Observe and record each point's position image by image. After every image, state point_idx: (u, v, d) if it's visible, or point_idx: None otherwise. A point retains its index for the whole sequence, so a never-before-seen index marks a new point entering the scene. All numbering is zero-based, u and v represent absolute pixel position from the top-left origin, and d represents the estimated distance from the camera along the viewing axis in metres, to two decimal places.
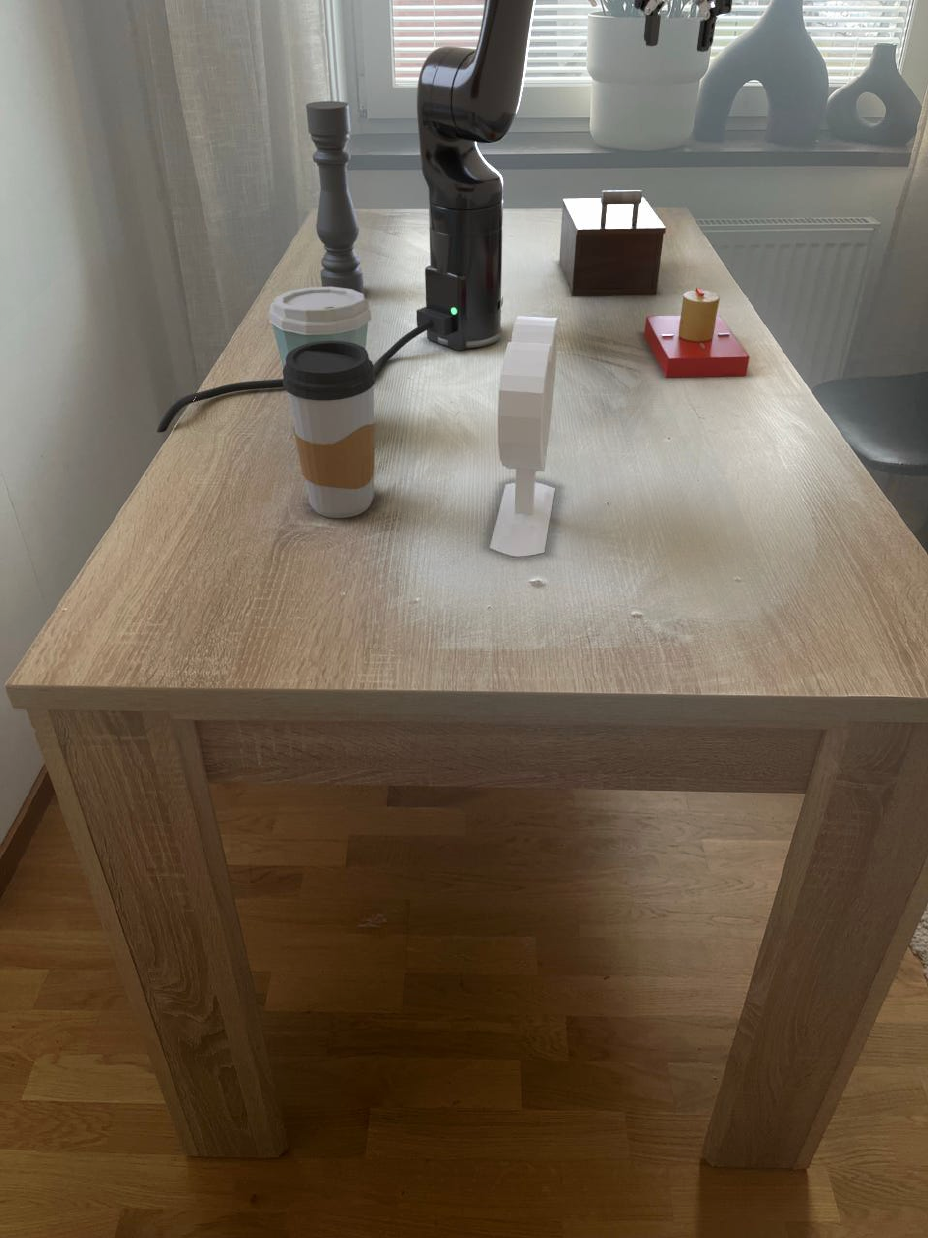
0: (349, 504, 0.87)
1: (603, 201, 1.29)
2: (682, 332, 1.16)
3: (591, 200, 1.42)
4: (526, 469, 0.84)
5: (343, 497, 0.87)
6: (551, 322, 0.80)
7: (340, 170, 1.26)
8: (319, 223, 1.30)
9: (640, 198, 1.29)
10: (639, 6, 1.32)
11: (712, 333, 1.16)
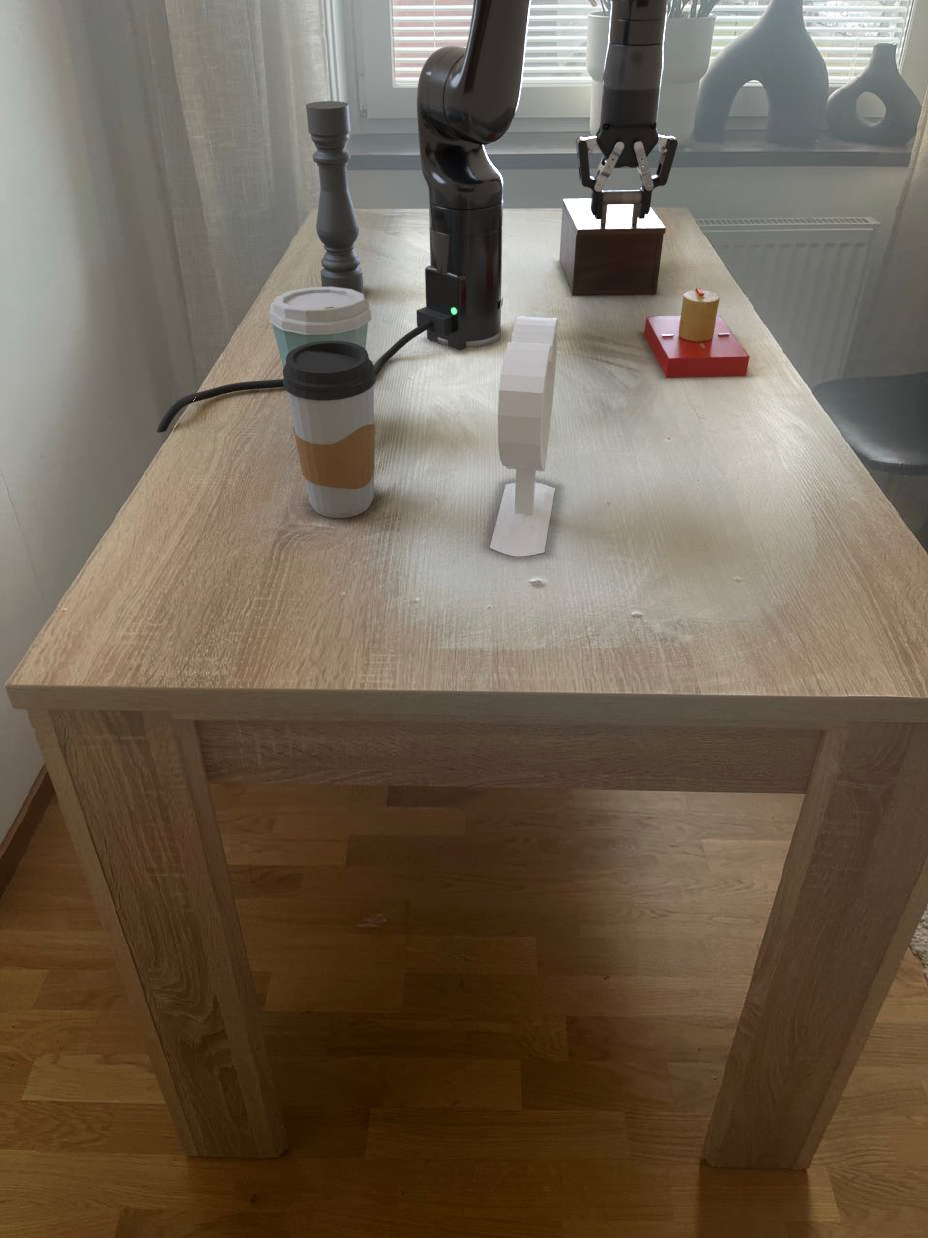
0: (349, 504, 0.87)
1: (603, 201, 1.29)
2: (682, 332, 1.16)
3: None
4: (526, 469, 0.84)
5: (343, 497, 0.87)
6: (551, 322, 0.80)
7: (340, 170, 1.26)
8: (319, 223, 1.30)
9: (640, 198, 1.29)
10: (588, 184, 1.28)
11: (712, 333, 1.16)
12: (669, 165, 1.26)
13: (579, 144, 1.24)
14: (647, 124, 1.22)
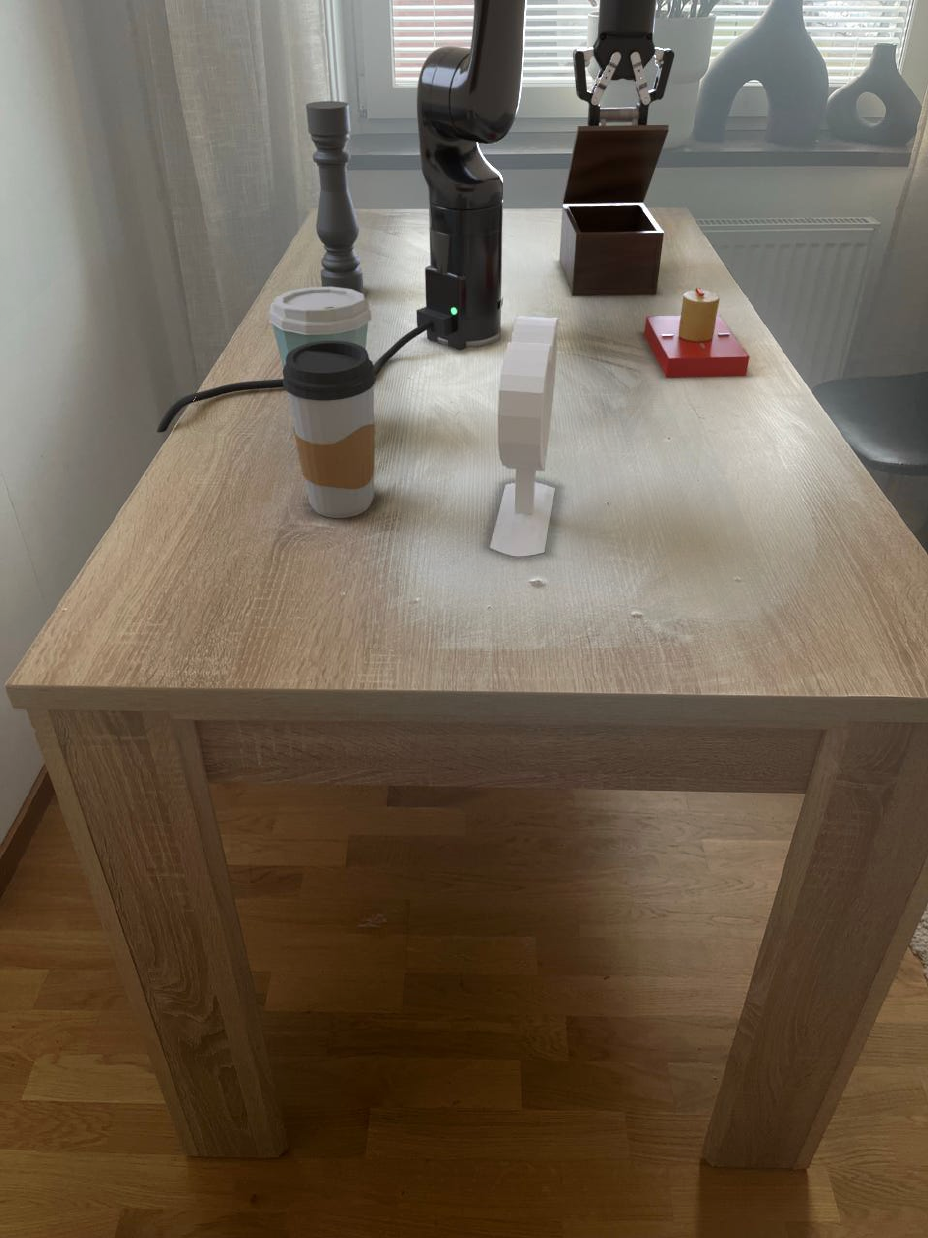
0: (349, 504, 0.87)
1: (601, 113, 1.29)
2: (682, 332, 1.16)
3: None
4: (526, 469, 0.84)
5: (343, 497, 0.87)
6: (551, 322, 0.80)
7: (340, 170, 1.26)
8: (319, 223, 1.30)
9: (637, 110, 1.29)
10: (585, 97, 1.28)
11: (712, 333, 1.16)
12: (666, 78, 1.27)
13: (576, 55, 1.25)
14: (644, 33, 1.22)
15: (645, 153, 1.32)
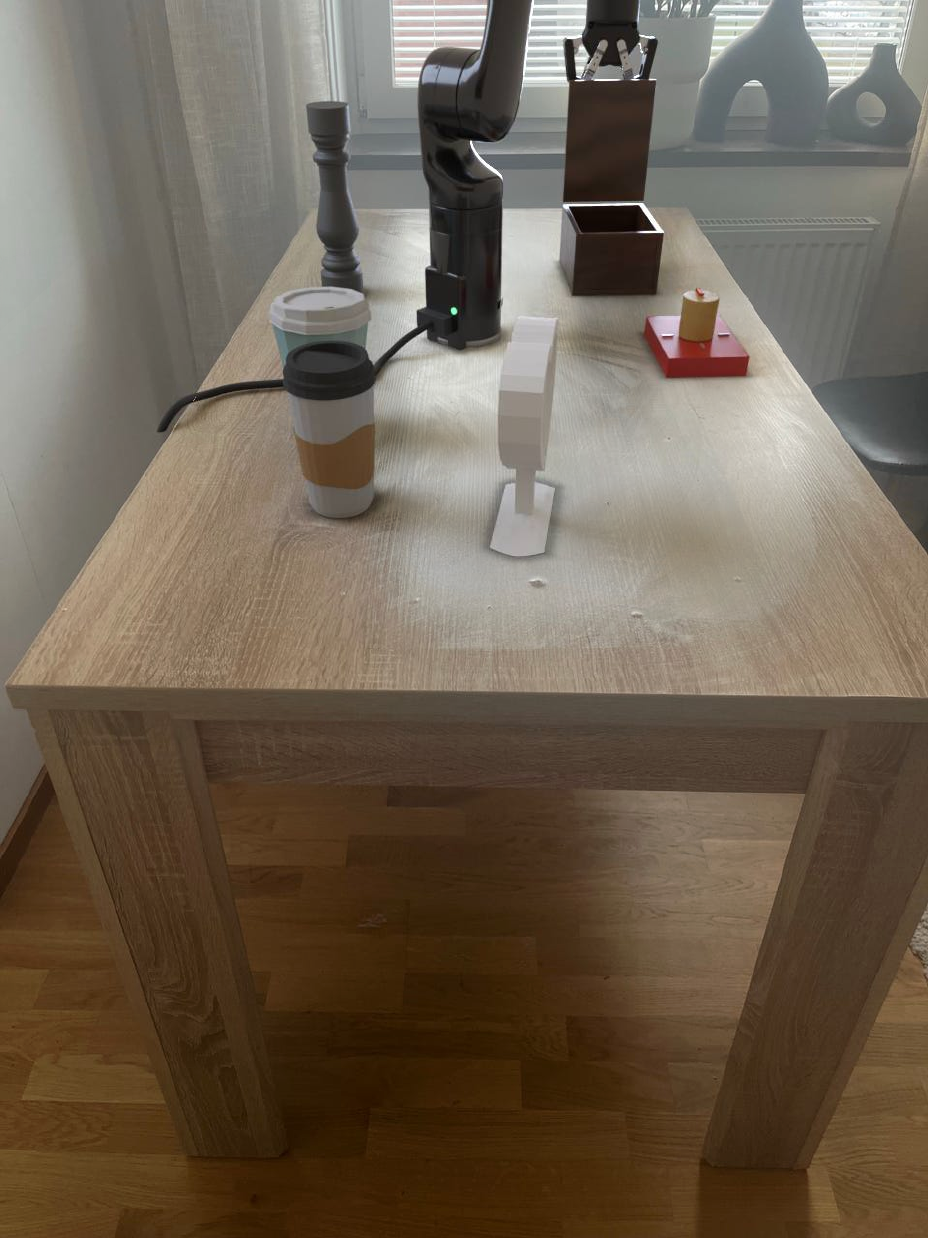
0: (349, 504, 0.87)
1: None
2: (682, 332, 1.16)
3: None
4: (526, 469, 0.84)
5: (343, 497, 0.87)
6: (551, 322, 0.80)
7: (340, 170, 1.26)
8: (319, 223, 1.30)
9: None
10: None
11: (712, 333, 1.16)
12: (650, 64, 1.35)
13: (566, 42, 1.33)
14: (629, 21, 1.30)
15: (638, 118, 1.36)
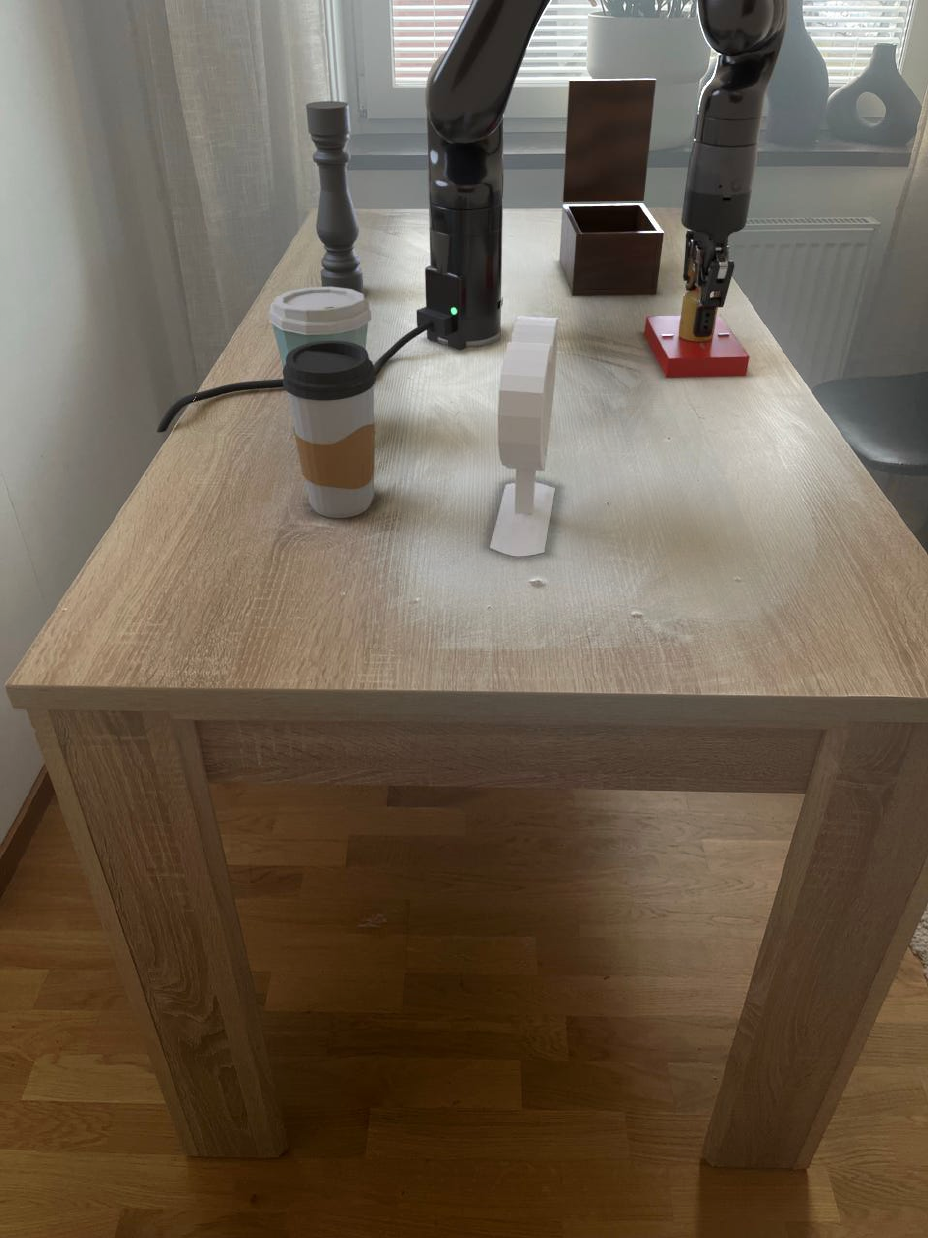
0: (349, 504, 0.87)
1: None
2: (682, 332, 1.16)
3: None
4: (526, 469, 0.84)
5: (343, 497, 0.87)
6: (551, 322, 0.80)
7: (340, 170, 1.26)
8: (319, 223, 1.30)
9: None
10: (684, 279, 1.18)
11: (712, 333, 1.16)
12: (707, 288, 1.08)
13: (686, 234, 1.16)
14: (691, 229, 1.08)
15: (637, 118, 1.36)
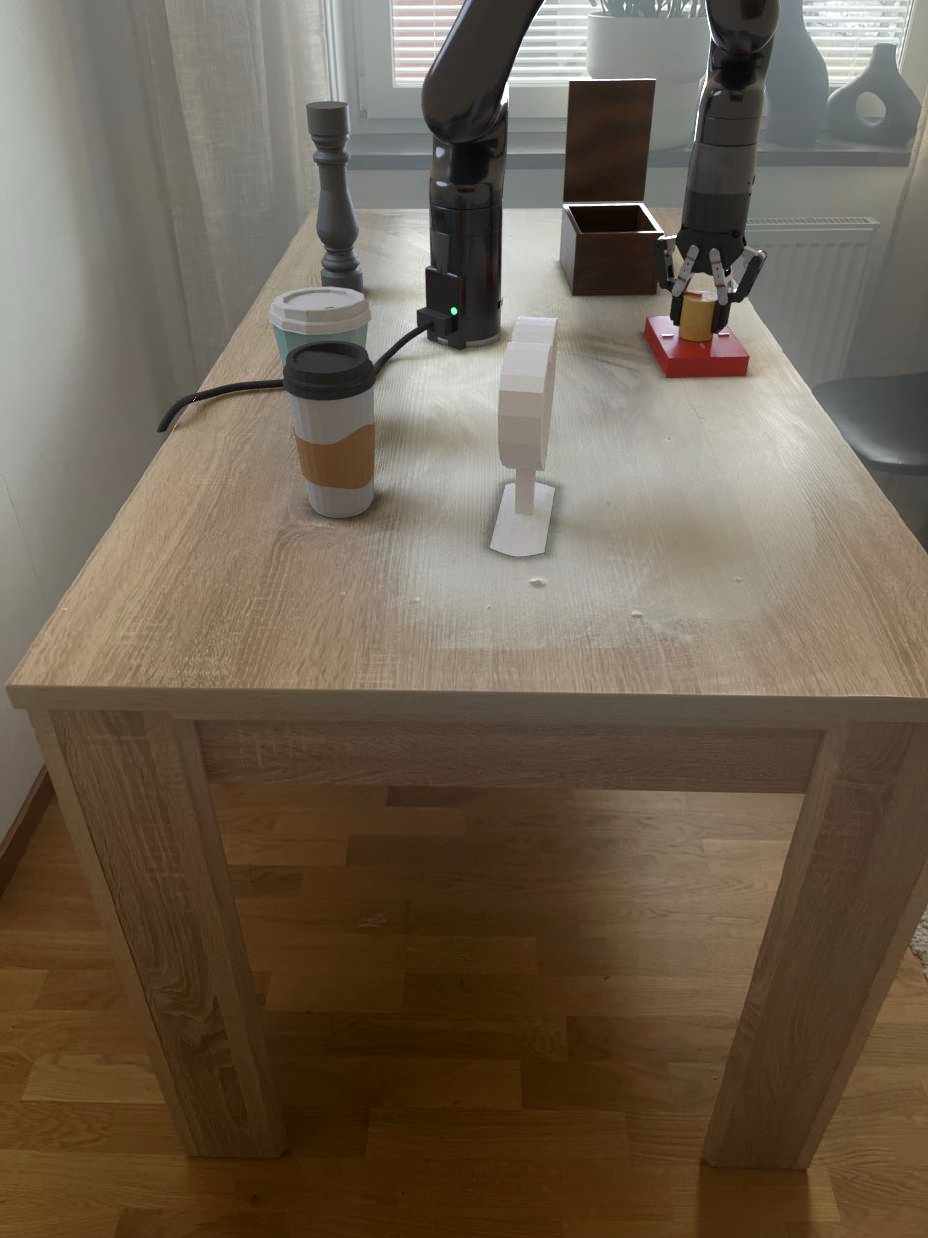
0: (349, 504, 0.87)
1: None
2: (698, 336, 1.15)
3: None
4: (526, 469, 0.84)
5: (343, 497, 0.87)
6: (551, 322, 0.80)
7: (340, 170, 1.26)
8: (319, 223, 1.30)
9: None
10: (665, 287, 1.15)
11: None
12: (748, 283, 1.10)
13: (654, 244, 1.13)
14: (720, 232, 1.06)
15: (637, 118, 1.36)
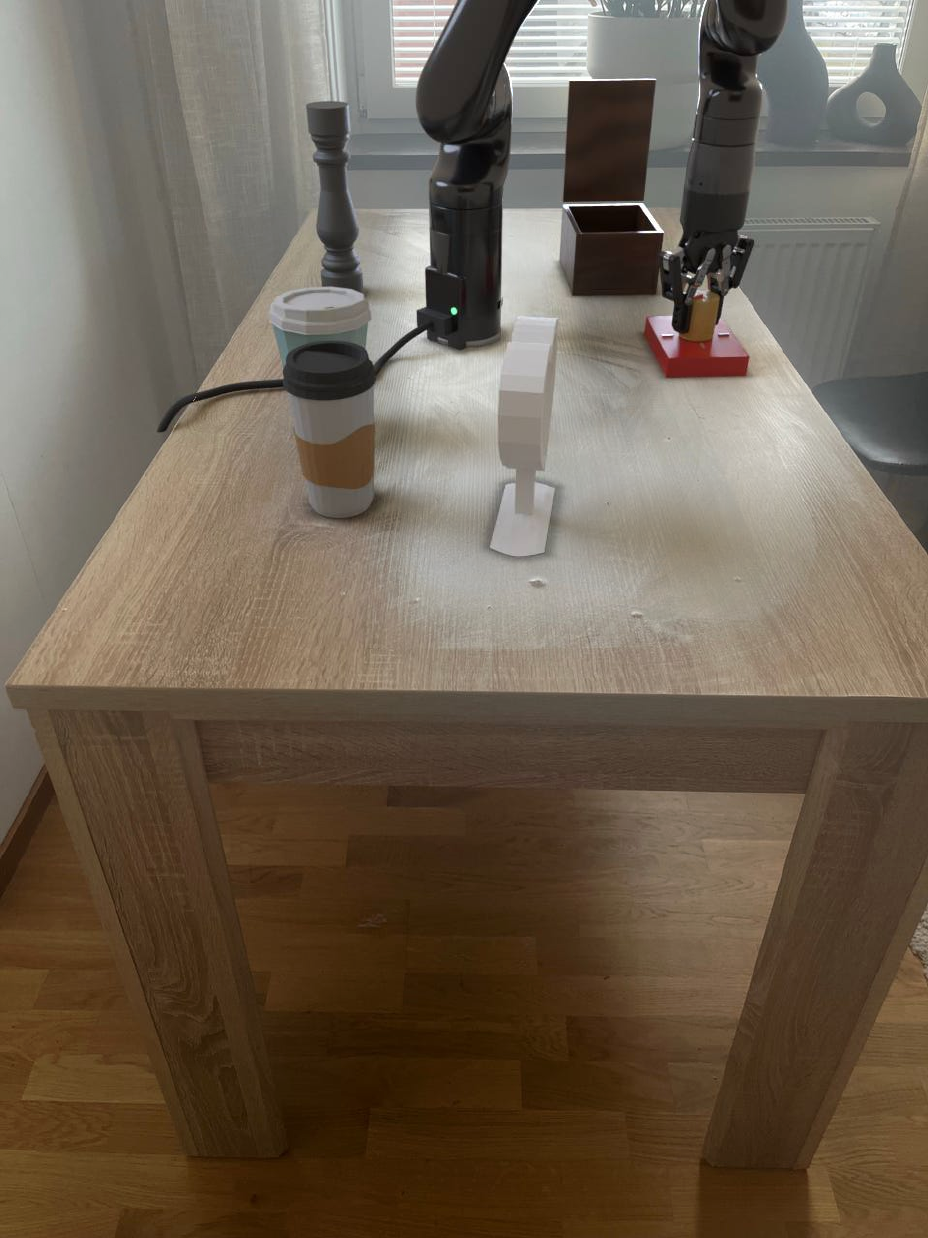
0: (349, 504, 0.87)
1: None
2: (713, 332, 1.16)
3: None
4: (526, 469, 0.84)
5: (343, 497, 0.87)
6: (551, 322, 0.80)
7: (340, 170, 1.26)
8: (319, 223, 1.30)
9: None
10: (680, 300, 1.12)
11: None
12: (744, 267, 1.15)
13: (673, 261, 1.08)
14: None
15: (637, 118, 1.36)
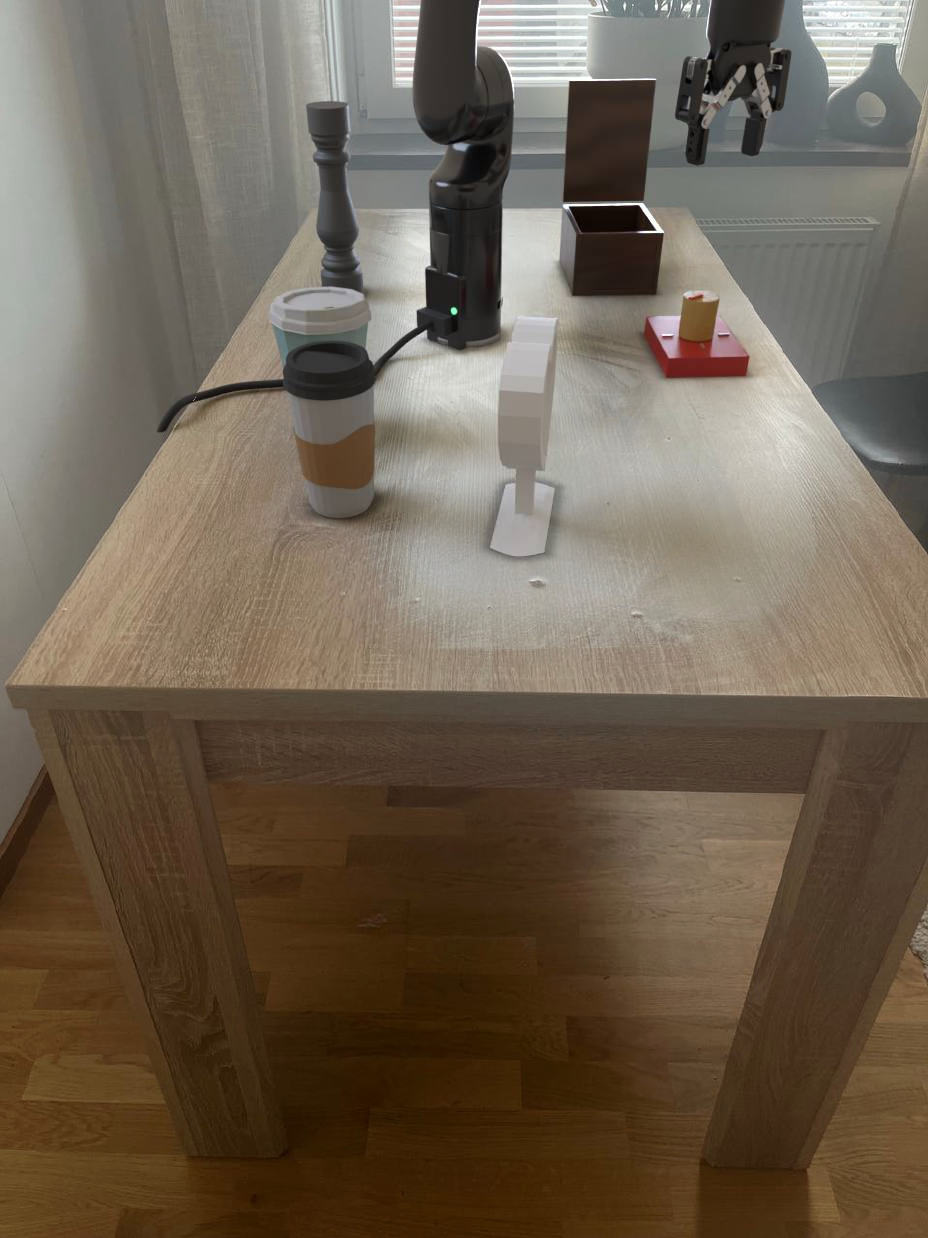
0: (349, 504, 0.87)
1: None
2: (713, 332, 1.16)
3: None
4: (526, 469, 0.84)
5: (343, 497, 0.87)
6: (551, 322, 0.80)
7: (340, 170, 1.26)
8: (319, 223, 1.30)
9: None
10: (696, 120, 0.99)
11: None
12: (785, 83, 1.02)
13: (700, 63, 0.95)
14: (776, 39, 0.96)
15: (637, 118, 1.36)
